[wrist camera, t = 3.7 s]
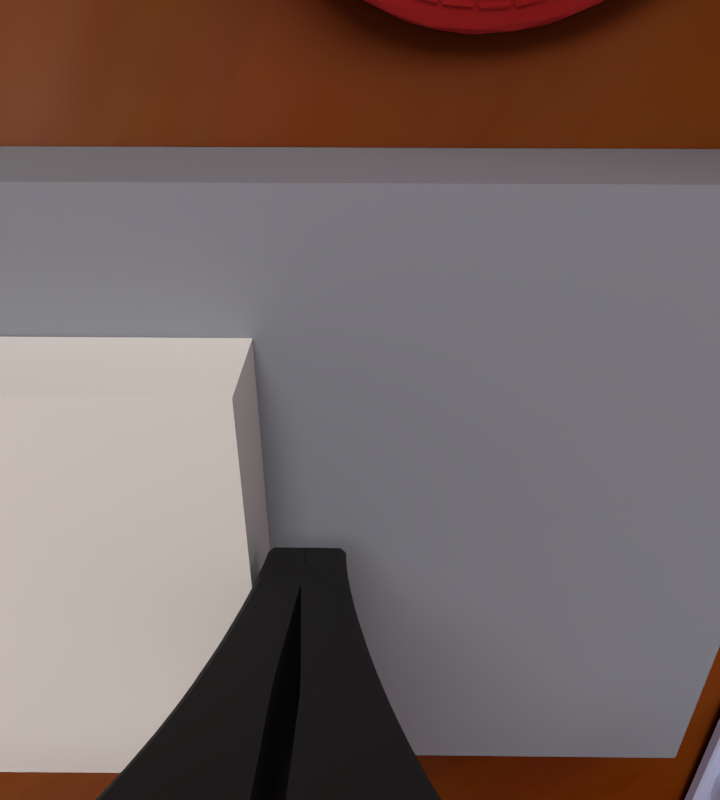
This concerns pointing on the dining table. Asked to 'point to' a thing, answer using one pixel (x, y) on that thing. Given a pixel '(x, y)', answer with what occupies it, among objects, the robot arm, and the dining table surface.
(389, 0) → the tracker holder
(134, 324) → the block
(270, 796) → the robot arm
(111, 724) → the tile
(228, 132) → the dining table surface
